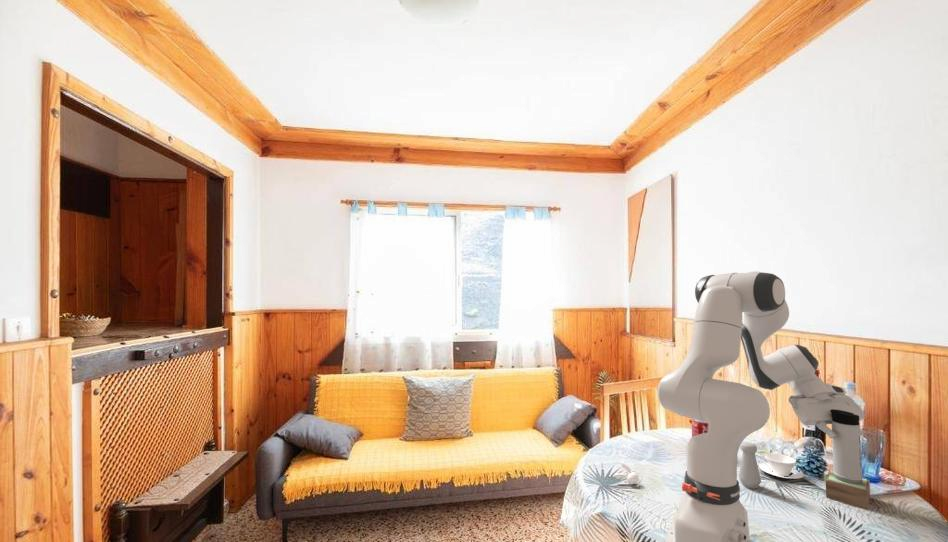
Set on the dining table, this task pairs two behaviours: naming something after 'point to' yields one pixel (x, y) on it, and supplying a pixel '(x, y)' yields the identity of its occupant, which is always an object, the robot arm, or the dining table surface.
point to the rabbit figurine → (628, 475)
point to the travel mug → (846, 447)
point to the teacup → (779, 466)
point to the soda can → (699, 427)
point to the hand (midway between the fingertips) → (847, 436)
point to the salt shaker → (749, 466)
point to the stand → (848, 491)
